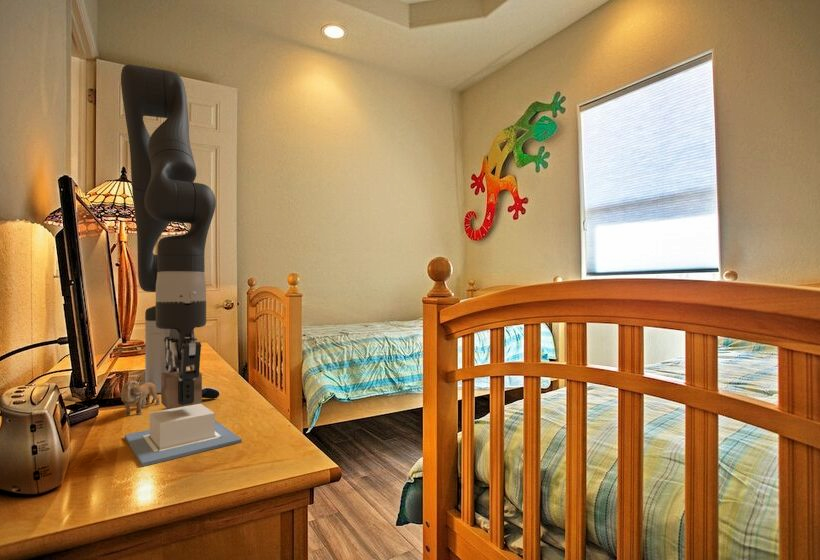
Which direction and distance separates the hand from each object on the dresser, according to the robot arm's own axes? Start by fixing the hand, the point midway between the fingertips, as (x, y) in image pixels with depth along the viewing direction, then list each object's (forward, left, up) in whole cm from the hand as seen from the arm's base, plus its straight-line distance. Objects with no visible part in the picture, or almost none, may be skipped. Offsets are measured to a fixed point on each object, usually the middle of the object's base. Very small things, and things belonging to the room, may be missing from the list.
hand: (181, 400), depth 71 cm
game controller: (-20, +9, -7) cm, 23 cm away
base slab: (0, 0, -6) cm, 6 cm away
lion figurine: (-24, -2, -7) cm, 25 cm away
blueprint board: (0, 0, -7) cm, 7 cm away
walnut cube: (0, 0, 0) cm, 0 cm away
